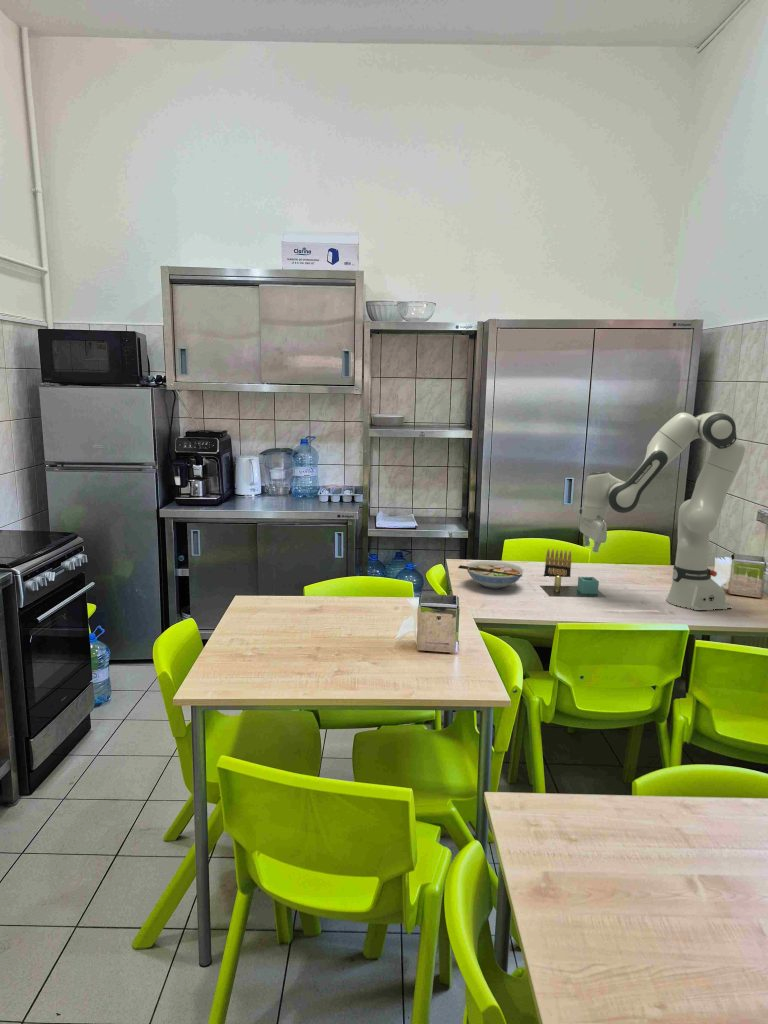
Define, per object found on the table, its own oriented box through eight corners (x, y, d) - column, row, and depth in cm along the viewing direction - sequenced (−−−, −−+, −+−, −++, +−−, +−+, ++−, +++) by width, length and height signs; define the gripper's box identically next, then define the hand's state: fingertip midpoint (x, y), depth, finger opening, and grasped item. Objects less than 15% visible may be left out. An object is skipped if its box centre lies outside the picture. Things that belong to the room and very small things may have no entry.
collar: (592, 589, 267) (593, 577, 266) (597, 593, 261) (598, 581, 260) (577, 589, 266) (578, 576, 265) (582, 593, 261) (583, 581, 260)
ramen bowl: (531, 583, 275) (532, 564, 274) (517, 599, 255) (519, 578, 253) (472, 574, 286) (473, 555, 284) (454, 588, 265) (455, 568, 264)
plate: (593, 588, 271) (595, 571, 270) (606, 599, 257) (608, 581, 256) (539, 587, 270) (540, 570, 268) (549, 599, 256) (550, 580, 255)
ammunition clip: (570, 578, 285) (572, 550, 283) (570, 579, 283) (572, 551, 281) (544, 575, 288) (546, 547, 286) (543, 576, 286) (546, 548, 284)
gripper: (613, 519, 248) (609, 556, 250) (593, 508, 268) (589, 542, 270) (596, 518, 247) (592, 555, 250) (577, 508, 267) (574, 542, 270)
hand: (590, 548), depth 260 cm, fingers open, 8 cm apart
